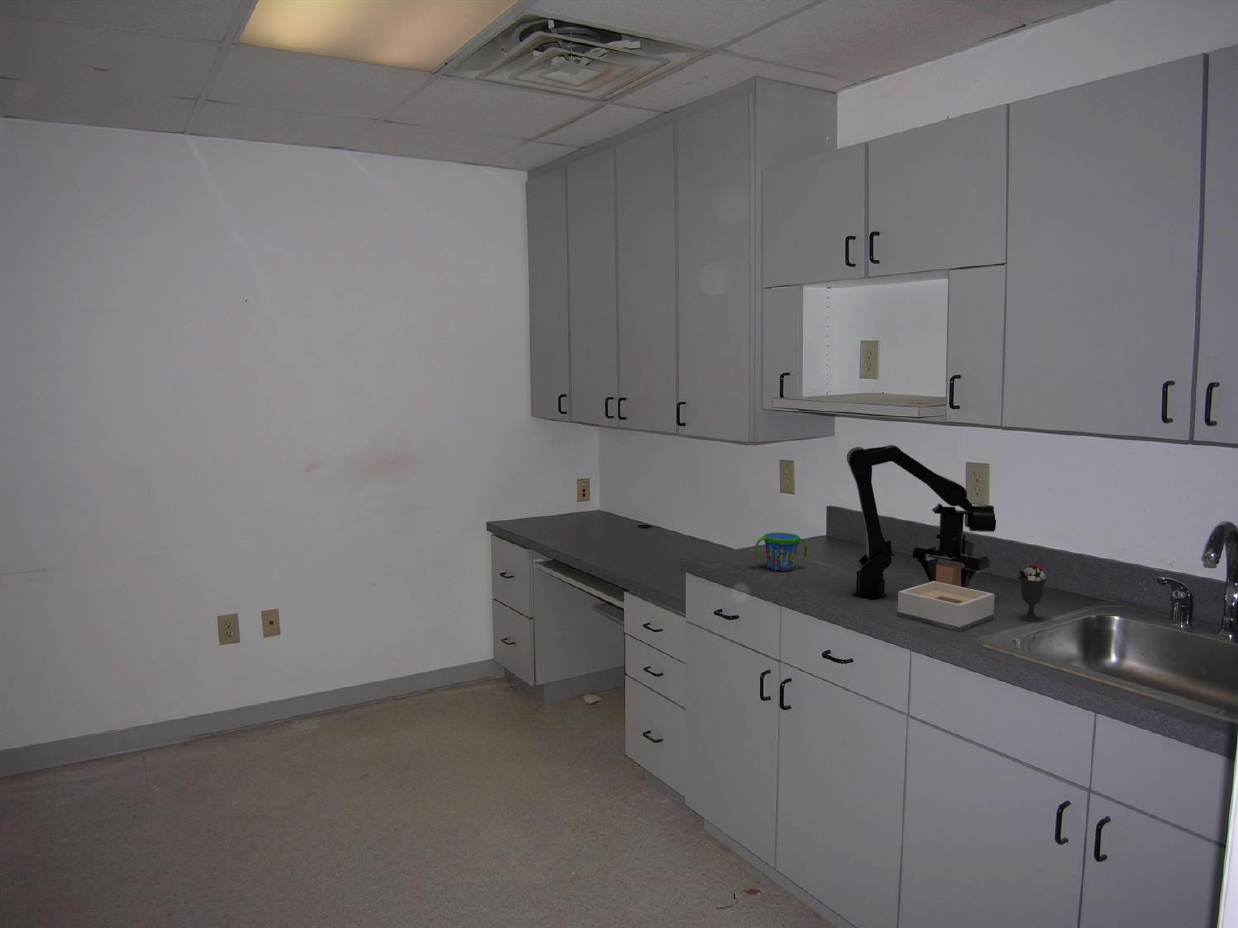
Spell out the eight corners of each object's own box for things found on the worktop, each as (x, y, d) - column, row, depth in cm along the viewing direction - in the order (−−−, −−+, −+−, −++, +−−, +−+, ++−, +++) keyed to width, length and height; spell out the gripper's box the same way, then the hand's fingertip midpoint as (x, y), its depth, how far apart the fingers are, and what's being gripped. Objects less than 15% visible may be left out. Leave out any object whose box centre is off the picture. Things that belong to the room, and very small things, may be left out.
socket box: (897, 615, 211) (898, 591, 210) (932, 604, 221) (933, 581, 221) (959, 631, 199) (960, 605, 198) (993, 618, 209) (994, 594, 208)
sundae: (1049, 618, 209) (1053, 557, 207) (1041, 624, 204) (1044, 562, 202) (1020, 613, 213) (1024, 553, 212) (1011, 619, 208) (1015, 558, 207)
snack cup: (804, 565, 263) (805, 532, 262) (809, 573, 252) (810, 539, 251) (752, 564, 264) (753, 531, 263) (755, 572, 254) (756, 538, 252)
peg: (935, 598, 226) (936, 565, 225) (944, 595, 229) (946, 562, 228) (951, 602, 223) (953, 568, 222) (960, 599, 226) (962, 565, 225)
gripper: (1001, 532, 222) (998, 591, 224) (934, 521, 236) (931, 577, 238) (979, 537, 215) (976, 599, 217) (912, 526, 229) (909, 584, 231)
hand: (948, 589), depth 226 cm, fingers open, 8 cm apart
